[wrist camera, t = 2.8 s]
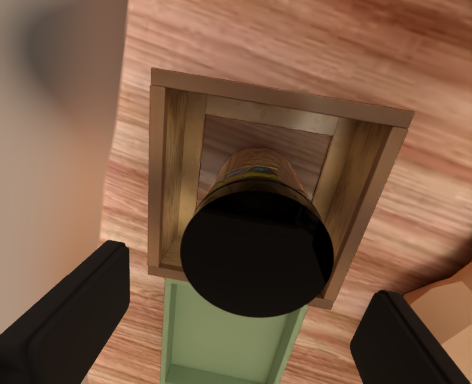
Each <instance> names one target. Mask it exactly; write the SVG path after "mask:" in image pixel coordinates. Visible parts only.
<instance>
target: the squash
mask: <svg viewBox="0 0 472 384" xmlns="http://www.w3.org/2000/svg"><path fill="white" fill-rule="evenodd" d="M403 297H404V299H405V300H406V301H407V303H408V304H409V305H410V306H411V308H412V309H413V310H414V311H415V313H416V314H417V315H418V316H419V318H420V319H421V320H422V322H423V323H424V324H425V325H426V327H427V328H428V329H429V330H430V332H431V333H432V334H433V336H434V337H435V338H436V339H437V341H438V342H439V343H440V344H441V346H442V347H443V348H444V350H445V351H446V352H447V353H448V355H449V356H450V357H451V358H452V360H453V361H454V362H455V364H456V365H457V366H458V367H459V369H460V370H461V371H462V372H463V374H464V375H465V376H466V378H467V379H468V380H469V381H470V383H471V384H472V262H470V263H469V264H468V265H466V266H465V267H464V268H462V269H461V270H460V271H458V272H457V273H456V274H454V275H453V276H452V277H450V278H448V279H445V280H441V281H438V282H434V283H431V284H429V285H426V286H424V287H421V288H419V289H416V290H414V291H411V292H409V293H406V294H404V296H403Z"/></svg>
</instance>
